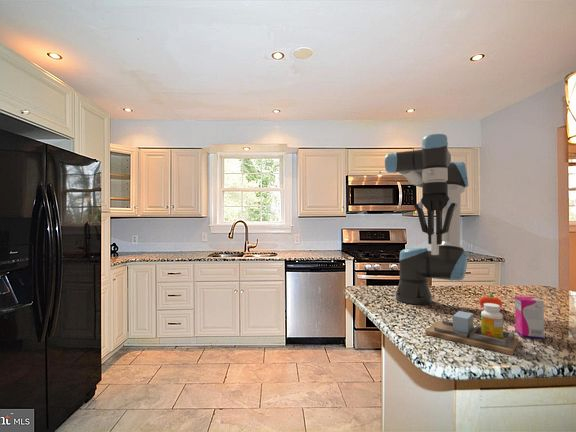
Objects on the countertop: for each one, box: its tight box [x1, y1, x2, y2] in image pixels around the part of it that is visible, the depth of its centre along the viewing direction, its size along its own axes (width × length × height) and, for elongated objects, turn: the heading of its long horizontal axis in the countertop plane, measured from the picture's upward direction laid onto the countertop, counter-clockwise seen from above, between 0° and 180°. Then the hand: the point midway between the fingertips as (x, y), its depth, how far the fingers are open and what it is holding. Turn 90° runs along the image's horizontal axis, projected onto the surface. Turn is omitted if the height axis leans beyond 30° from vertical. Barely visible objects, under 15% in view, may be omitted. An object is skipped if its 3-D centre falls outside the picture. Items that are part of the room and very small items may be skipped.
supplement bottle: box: [480, 303, 504, 339], centre depth 89 cm, size 5×5×10 cm
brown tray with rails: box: [425, 319, 519, 356], centre depth 93 cm, size 22×13×3 cm, turn 48°
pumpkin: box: [478, 292, 503, 309], centre depth 123 cm, size 7×8×6 cm
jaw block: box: [452, 310, 474, 336], centre depth 94 cm, size 4×7×5 cm, turn 138°
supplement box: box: [514, 295, 546, 340], centre depth 95 cm, size 6×6×12 cm
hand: (435, 254), depth 100 cm, fingers closed
